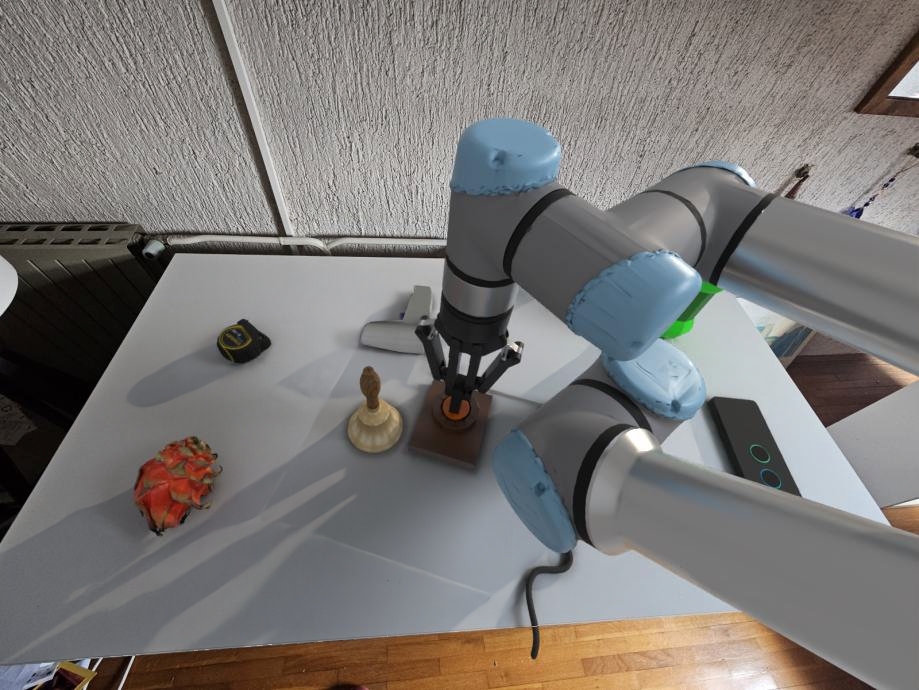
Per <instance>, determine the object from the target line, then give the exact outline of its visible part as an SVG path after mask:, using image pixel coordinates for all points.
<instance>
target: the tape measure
mask: <svg viewBox="0 0 919 690" xmlns="http://www.w3.org/2000/svg"><path fill="white" fill-rule="evenodd" d="M271 346H272V340H271V338H270V337H269V336H268V335H266V334H265V333H263V332H262V331H260V330H259V329H258V328H256V326H254V324H252V323H251V322H250V321H249V319H246V318H241V319H239V320H238V321H237V322H236V324H232V325H230V326H227V327H225V328H224V329H223V330H222V331H221V332H220V333H219V335H218V336H217V339H216V347H217V350H218V351H219V353H220V355H221V356H222V358H224V359H225V360H227V361H229V362H233V363H235V364H244V363H249V362H251V361H254V360H255V359H257V358H258V357H259V356H261V355H262V353H264V352H265V351H266V350H268V349H270V347H271Z"/></svg>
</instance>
